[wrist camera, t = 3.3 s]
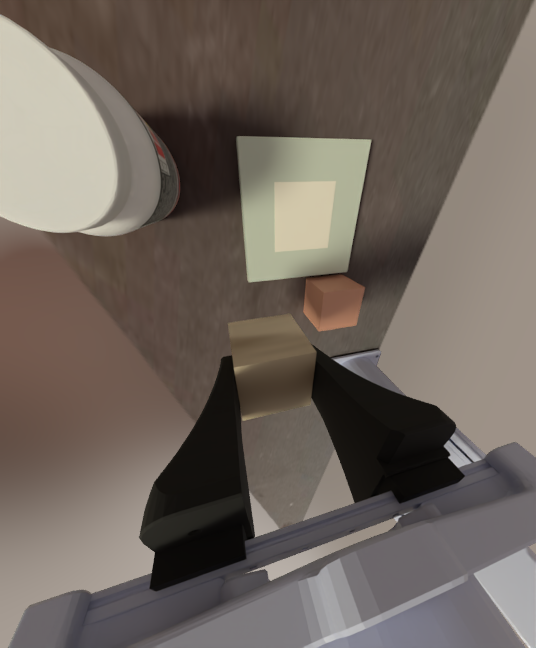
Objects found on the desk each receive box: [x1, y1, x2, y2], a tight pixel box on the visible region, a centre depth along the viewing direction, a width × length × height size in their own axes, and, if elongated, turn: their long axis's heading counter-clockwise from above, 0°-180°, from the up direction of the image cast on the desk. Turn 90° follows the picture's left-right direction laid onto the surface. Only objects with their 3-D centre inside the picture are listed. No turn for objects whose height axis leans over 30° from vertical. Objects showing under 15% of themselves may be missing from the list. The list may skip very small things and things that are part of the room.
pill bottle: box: [0, 14, 180, 236], centre depth 10 cm, size 6×6×10 cm
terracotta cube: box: [304, 274, 365, 331], centre depth 20 cm, size 4×4×4 cm
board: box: [236, 136, 371, 282], centre depth 17 cm, size 10×10×1 cm
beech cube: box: [228, 314, 317, 421], centre depth 12 cm, size 4×4×4 cm
